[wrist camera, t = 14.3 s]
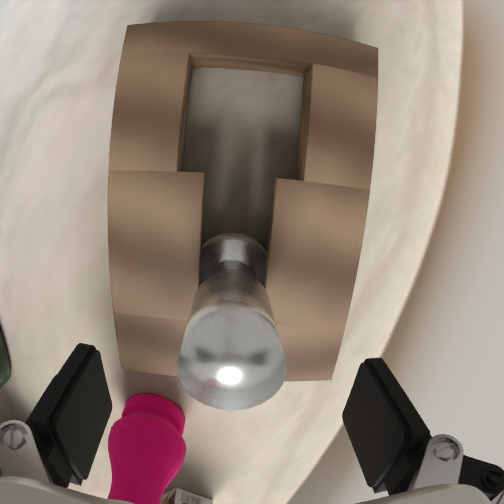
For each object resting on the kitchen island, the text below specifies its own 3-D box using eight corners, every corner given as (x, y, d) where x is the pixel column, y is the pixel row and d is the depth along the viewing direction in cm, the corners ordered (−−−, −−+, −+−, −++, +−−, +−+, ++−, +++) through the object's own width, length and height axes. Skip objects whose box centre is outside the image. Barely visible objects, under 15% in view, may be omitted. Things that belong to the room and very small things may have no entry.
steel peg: (193, 230, 22) (153, 300, 11) (275, 235, 23) (318, 309, 11) (191, 305, 24) (163, 416, 12) (267, 309, 24) (293, 421, 13)
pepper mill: (107, 399, 26) (45, 565, 7) (161, 379, 26) (114, 585, 7) (150, 441, 28) (120, 596, 9) (203, 426, 28) (194, 606, 8)
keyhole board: (143, 45, 18) (127, 25, 14) (356, 63, 19) (377, 48, 15) (134, 342, 24) (121, 369, 21) (319, 352, 26) (331, 379, 22)
